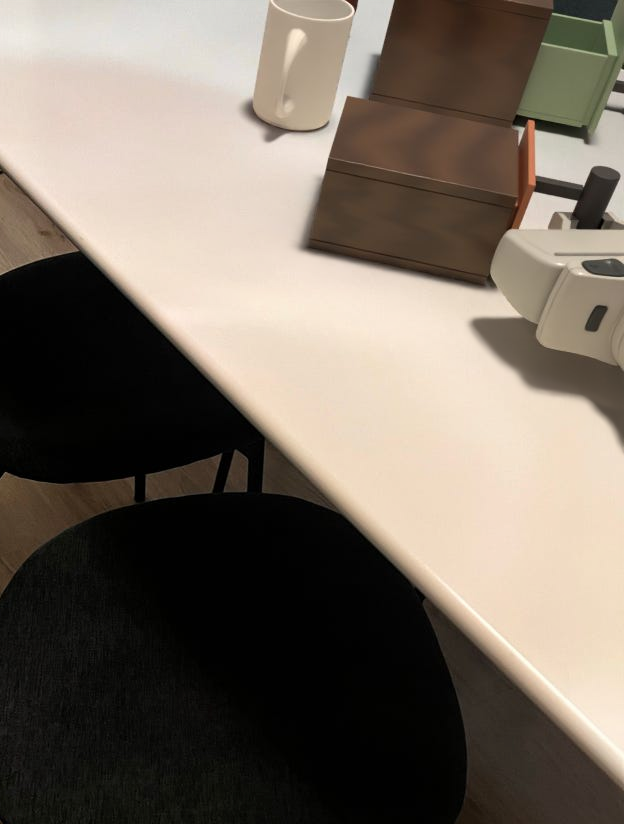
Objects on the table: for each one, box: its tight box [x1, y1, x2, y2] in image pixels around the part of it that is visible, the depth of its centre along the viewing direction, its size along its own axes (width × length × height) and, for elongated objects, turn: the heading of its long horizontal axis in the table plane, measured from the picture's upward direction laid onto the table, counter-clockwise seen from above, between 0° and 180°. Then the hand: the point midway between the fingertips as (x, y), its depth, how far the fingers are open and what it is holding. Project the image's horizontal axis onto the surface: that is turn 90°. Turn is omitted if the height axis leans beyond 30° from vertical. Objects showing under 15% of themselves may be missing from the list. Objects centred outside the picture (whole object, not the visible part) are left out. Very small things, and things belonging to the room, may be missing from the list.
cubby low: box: [307, 95, 520, 286], centre depth 92 cm, size 16×14×8 cm
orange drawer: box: [504, 119, 622, 234], centre depth 91 cm, size 22×14×9 cm, turn 76°
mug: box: [252, 0, 356, 132], centre depth 105 cm, size 9×12×11 cm
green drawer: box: [516, 0, 624, 135], centre depth 112 cm, size 22×14×11 cm, turn 76°
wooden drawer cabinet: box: [368, 0, 554, 129], centre depth 114 cm, size 16×14×12 cm
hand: (578, 219), depth 87 cm, fingers closed on orange drawer, 2 cm apart
